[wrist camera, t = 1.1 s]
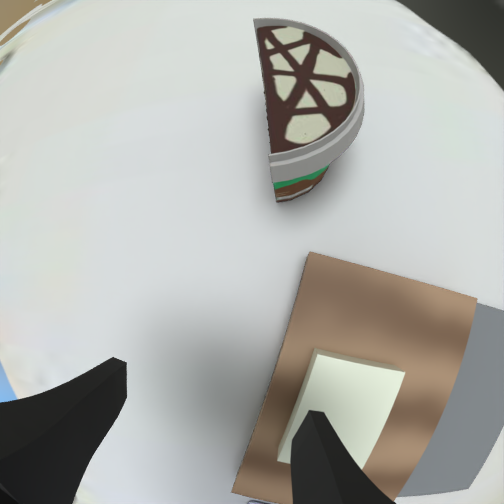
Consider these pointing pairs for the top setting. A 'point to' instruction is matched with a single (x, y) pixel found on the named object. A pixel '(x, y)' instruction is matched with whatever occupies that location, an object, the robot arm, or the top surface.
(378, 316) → the board
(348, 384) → the tile
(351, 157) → the top surface
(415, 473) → the mat
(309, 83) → the food container
